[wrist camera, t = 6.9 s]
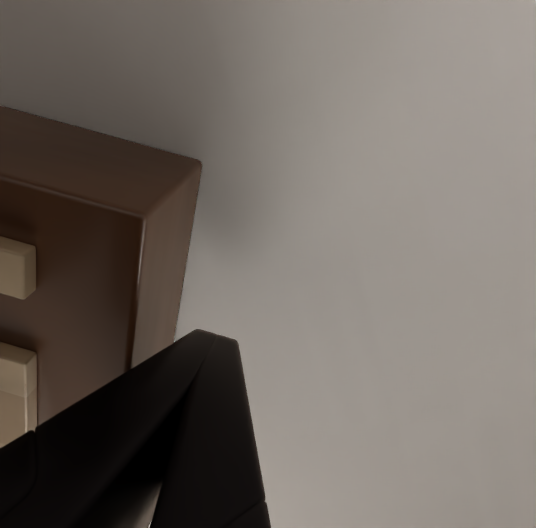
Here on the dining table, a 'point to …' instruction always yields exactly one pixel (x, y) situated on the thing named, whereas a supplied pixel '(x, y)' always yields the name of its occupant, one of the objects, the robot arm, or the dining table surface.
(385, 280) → the dining table surface
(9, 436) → the s tile
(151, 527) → the robot arm
